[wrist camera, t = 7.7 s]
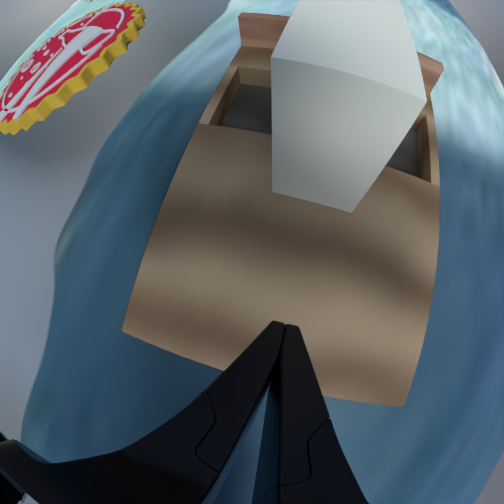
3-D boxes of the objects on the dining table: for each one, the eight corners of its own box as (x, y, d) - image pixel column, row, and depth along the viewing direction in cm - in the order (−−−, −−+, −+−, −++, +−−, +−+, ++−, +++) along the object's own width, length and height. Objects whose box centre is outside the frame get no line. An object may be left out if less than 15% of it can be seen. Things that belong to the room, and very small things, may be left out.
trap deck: (388, 397, 15) (430, 423, 10) (138, 329, 18) (88, 332, 12) (419, 102, 21) (441, 63, 15) (246, 58, 23) (241, 12, 17)
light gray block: (351, 212, 16) (427, 101, 6) (272, 191, 17) (270, 57, 7) (365, 73, 19) (391, -18, 9) (310, 59, 19) (318, -37, 10)
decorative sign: (29, 141, 20) (-23, 119, 25) (42, 152, 23) (-15, 125, 28) (180, -7, 26) (76, 11, 30) (184, 6, 28) (80, 19, 33)
